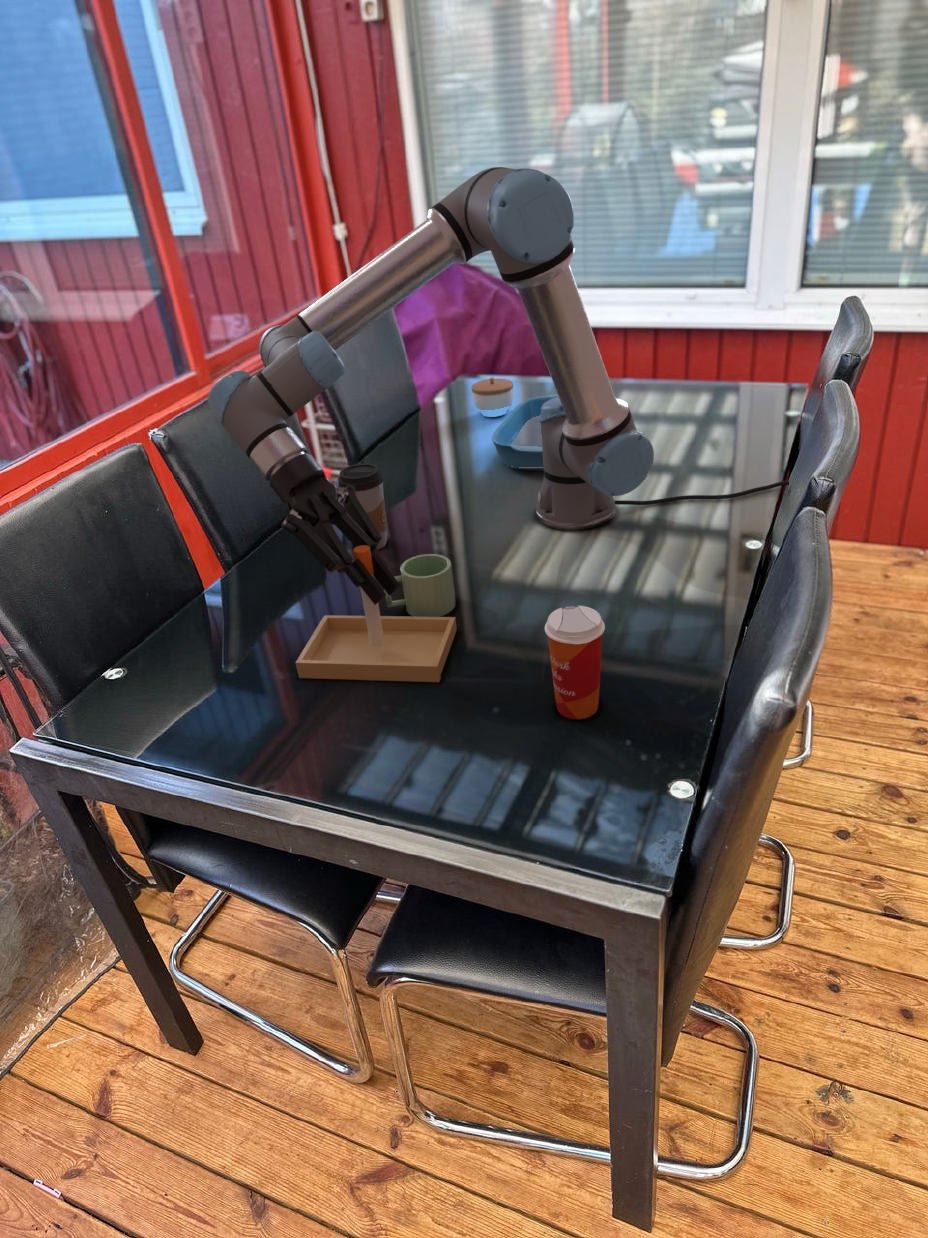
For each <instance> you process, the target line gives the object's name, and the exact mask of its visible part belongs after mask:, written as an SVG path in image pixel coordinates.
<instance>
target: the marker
mask: <svg viewBox="0 0 928 1238" xmlns="http://www.w3.org/2000/svg"><path fill="white" fill-rule="evenodd" d="M352 552H353V559H354V561H355V560H357V559H359V560H360V561H361V563H362V564H363V565H364V566H365V568H366V569H367V570H368V572H369V573H370V574H371V576H372V577H373V578H374V579H375V577H374V574H373V573H374V570H373V564H372V558H371V551H370V547H369V546H367V545H360V546H357V547H355V546H354V548H353V550H352ZM359 587H360V586H359ZM360 593H361V599H362V606H363V611H364V616H365V617H366V623H367V629H368V635H369V641H370V645H371V646H374V647H378V646H381V645H383V644H384V636H383V630H382V624H381V617H380V616H381V612H380V607H379V606H380V605H379V603H377V604H376V605H374V603H373V602H372V601H371V599H370V598H369V597H368V596H367V594H366V593H365V592H364V590H363V589H362V588H361V587H360Z"/></svg>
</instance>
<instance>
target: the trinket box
mask: <svg viewBox="0 0 928 1238" xmlns="http://www.w3.org/2000/svg"><path fill="white" fill-rule="evenodd" d="M470 389H471V394H472V399H473V404H474V406H475V409H477V408H478V409H480V410H495V409H500V408H504V407H507V406H509V405H510V404H511V403H512V404H513V401H514V382H513V381H512V380H510V379H507V378H495V377H489V378H488V379H483V380H479V381H476V382H474V383H473V384H472V385H471V387H470Z"/></svg>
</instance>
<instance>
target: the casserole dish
mask: <svg viewBox="0 0 928 1238" xmlns="http://www.w3.org/2000/svg"><path fill="white" fill-rule="evenodd" d="M556 397H559V396H558V394H551V395H546V396H543V395H542V396H536V397H532V398H528V399H525V400H523V401H521V402H519V404H517V405H516V406H515V407H514V408H513V409H512V410H511V412H510V413H509V414H508V415H507V416H506V417H505V418H504V419H503V421H502V422H501V423H500V424H499V426H498V427H497V428H496V429H495V430H494V432H493V434H492V435H491V441H492V443H493V445H494V448H495V450H496V453H497V455H498V456H499V459H500V460H501V461H502V463H503V464H504V465H506V466H507V467H509V468H510V469H513V470H523V471H541V472H542V471H543V472H544V468H519V467H543V452H542V447H538V446H517V445H511V444H512V443H514V441H515V439H516V437H517V435H518V434H519V432H520V430H521V429H522V427H523V426H524V425H525V423H526V422H527V421H528V420H530V419H531V418H533V417H536V416H539V415H541V407H542V405H543V404H544V403H545V402H546V401H548V400H550V399H553V398H556ZM511 466H513V467H511Z"/></svg>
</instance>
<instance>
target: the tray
mask: <svg viewBox="0 0 928 1238" xmlns="http://www.w3.org/2000/svg"><path fill="white" fill-rule="evenodd" d="M380 617H381V624H382V630H383V636H384V644H383V645H381V646H378V647H374V646H371V645H370V641H369V635H368V629H367V623H366V617H365V615H341V614H339V615H334V614H333V615H331V614H330V615H329V614H328V615H327V614H326V615H324V614H323V617H322V618H321V620H320V621H319V623H318V625H317V626H316V628H315V630H314V631H313V633H312V635H311V636H310V637H309V640H308V641H307V643H306V645H305V646H304V648H303V650H302V651H301V653H300V655H299V656H298V657H297V659H296V660H295V667H296V671H297V675H298V679H315V680H316V679H319V680H348V681H349V680H351V681H381V682H382V681H383V682H386V681H387V682H414V683H416V682H417V683H418V682H419V683H440V682H441V679H442V672H443V670H444V667H445V664H446V661H447V658H448V655H449V653H450V650H451V647H452V645H453V641H454V639H455V636H456V633H457V628H458V627H457V619H456V616H440V617H414V616H400V615H399V616H397V615H380Z"/></svg>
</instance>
